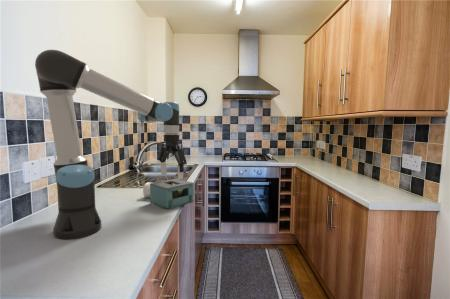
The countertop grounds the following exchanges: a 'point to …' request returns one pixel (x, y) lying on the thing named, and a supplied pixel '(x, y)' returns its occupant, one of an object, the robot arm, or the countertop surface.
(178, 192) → the gold block
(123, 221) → the countertop surface
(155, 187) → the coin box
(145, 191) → the mug
